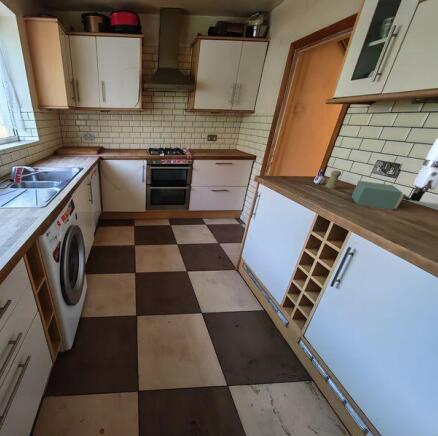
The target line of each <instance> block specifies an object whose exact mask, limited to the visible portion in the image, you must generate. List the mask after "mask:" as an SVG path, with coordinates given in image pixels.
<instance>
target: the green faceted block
mask: <svg viewBox="0 0 438 436" xmlns="http://www.w3.org/2000/svg"><path fill="white" fill-rule="evenodd" d="M402 193H403V191H401V189H399V188H397V187H396V186H394V185H393V184H387V183H379V182H372V181H363V180H358V181H357V183H356V186H355V187H354V189H353V192H352V195H351V198H352V199H353V201H354V203H355V204H356V205H360V206H365V207H371V208H372V207H373V208H377V209H384V210H390V211H394V209H395V208H394V207H395V205H396V203H397V201H398V200H399V198H400V196H401V194H402Z"/></svg>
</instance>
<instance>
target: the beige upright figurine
mask: <svg viewBox="0 0 438 436" xmlns="http://www.w3.org/2000/svg"><path fill="white" fill-rule="evenodd" d="M341 175H342V171H340V170H337V169H334V170H332V171H331V172H330V177H329V178H328V180H327V181H326V184H325V186H324V187H325V188H328V189H333V190H334V189H337V187H338V183H339V178H340V176H341Z"/></svg>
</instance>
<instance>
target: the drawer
mask: <svg viewBox="0 0 438 436" xmlns="http://www.w3.org/2000/svg"><path fill="white" fill-rule="evenodd" d="M402 200H406V201H409V202H410V201H411V200H410V196H408V195H407V194H405V193H403V192H402V194H401V196H400V198H399V200H398V201H397V203H396V205H395V207H394V209H397V208H398V207H399V205H400V203H401V202H402Z"/></svg>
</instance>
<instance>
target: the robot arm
mask: <svg viewBox="0 0 438 436" xmlns="http://www.w3.org/2000/svg"><path fill="white" fill-rule="evenodd" d="M413 185H414V189H413V191H412V194H411V196H409V198H410V200H409V201H413V202H421V200H422V198H423V196H424V195H425V193H428V192H429V190H431V191H432V190H435V189H436V187H437V186H438V137H437V138H436V139H435V141H434V142H433V144H432V145H431V148H430V150H429V151H428V153H427V155H426V156H425V159H424V160H423V162H422V164H421V169H420V170H419V172H418V173H417V175H416V176H415V179H414V181H413Z"/></svg>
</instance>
